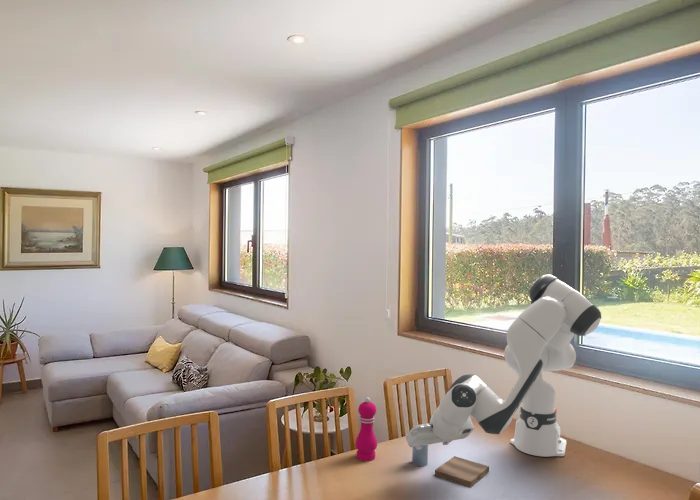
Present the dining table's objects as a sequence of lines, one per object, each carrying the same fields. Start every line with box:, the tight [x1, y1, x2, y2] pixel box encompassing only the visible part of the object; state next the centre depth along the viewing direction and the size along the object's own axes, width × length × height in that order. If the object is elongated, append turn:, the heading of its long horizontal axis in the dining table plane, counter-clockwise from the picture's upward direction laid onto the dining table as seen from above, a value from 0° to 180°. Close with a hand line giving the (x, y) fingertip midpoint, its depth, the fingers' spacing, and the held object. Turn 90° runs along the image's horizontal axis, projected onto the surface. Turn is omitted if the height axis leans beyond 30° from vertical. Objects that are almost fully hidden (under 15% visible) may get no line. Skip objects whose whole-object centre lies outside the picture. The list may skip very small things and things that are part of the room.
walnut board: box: [434, 455, 490, 488], centre depth 162 cm, size 14×12×2 cm
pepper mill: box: [355, 396, 378, 462], centre depth 172 cm, size 7×7×20 cm
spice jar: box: [411, 444, 429, 467], centre depth 169 cm, size 5×5×11 cm
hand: (431, 445), depth 163 cm, fingers open, 8 cm apart
